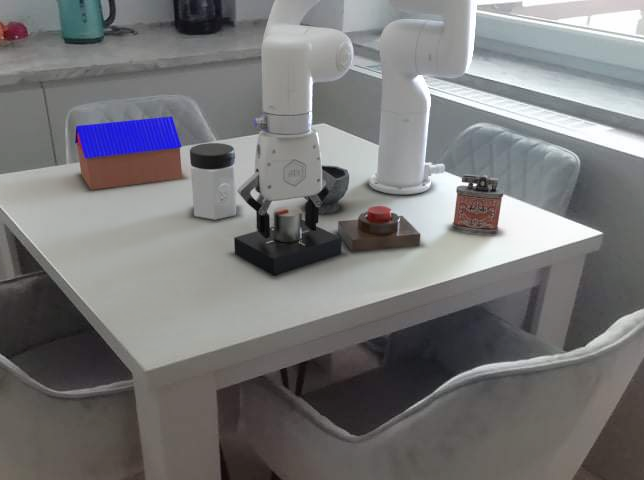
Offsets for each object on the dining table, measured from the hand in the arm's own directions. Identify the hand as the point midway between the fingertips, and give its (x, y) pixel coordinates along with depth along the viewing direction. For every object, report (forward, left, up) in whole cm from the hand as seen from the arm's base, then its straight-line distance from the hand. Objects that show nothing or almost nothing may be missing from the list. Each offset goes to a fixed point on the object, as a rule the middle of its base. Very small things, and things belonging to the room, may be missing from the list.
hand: (287, 231), depth 124 cm
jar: (+5, -24, -4) cm, 25 cm away
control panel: (0, 0, -4) cm, 4 cm away
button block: (-17, 0, -4) cm, 17 cm away
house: (+15, -52, -4) cm, 54 cm away
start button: (-17, 0, -1) cm, 17 cm away
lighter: (-35, +3, -4) cm, 35 cm away
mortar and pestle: (-14, -18, -4) cm, 23 cm away
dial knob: (0, 0, -1) cm, 1 cm away
